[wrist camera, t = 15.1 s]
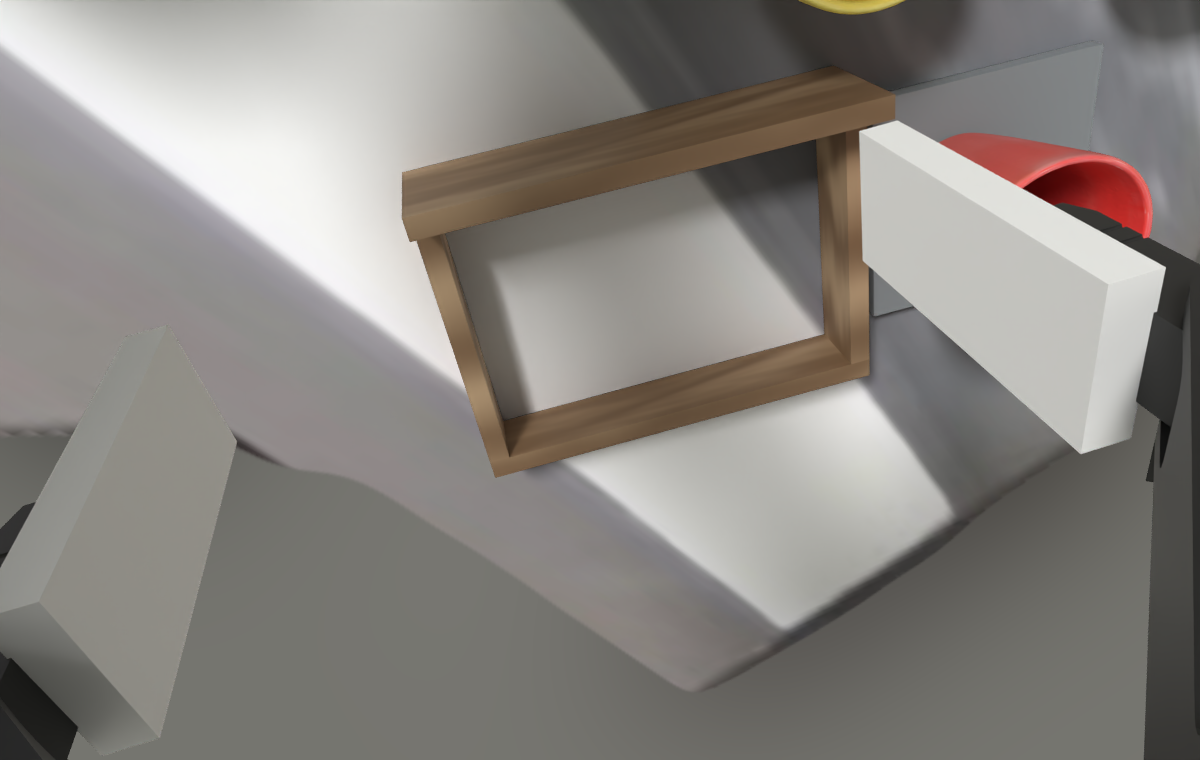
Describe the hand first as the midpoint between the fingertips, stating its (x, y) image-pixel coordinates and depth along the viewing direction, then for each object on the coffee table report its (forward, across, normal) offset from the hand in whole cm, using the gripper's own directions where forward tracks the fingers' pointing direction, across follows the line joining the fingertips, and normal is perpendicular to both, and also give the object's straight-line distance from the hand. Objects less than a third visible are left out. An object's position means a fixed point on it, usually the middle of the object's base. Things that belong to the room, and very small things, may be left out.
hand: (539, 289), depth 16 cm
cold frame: (+30, +7, -16) cm, 35 cm away
